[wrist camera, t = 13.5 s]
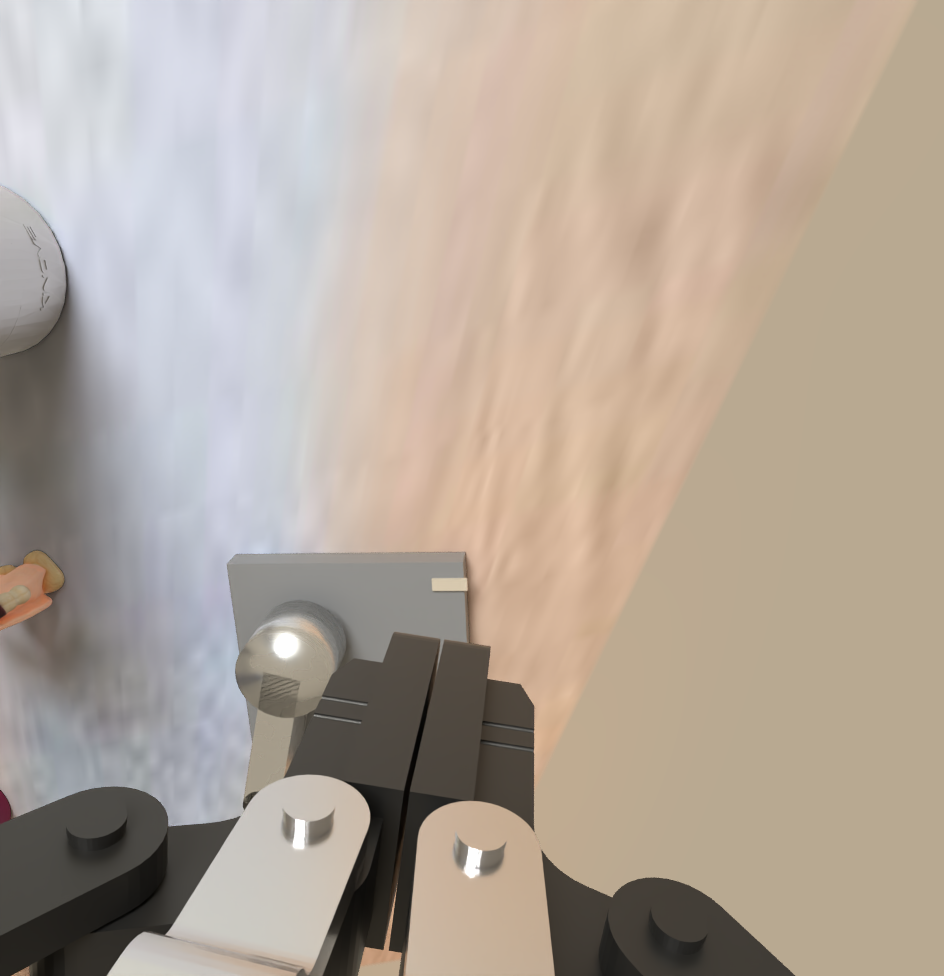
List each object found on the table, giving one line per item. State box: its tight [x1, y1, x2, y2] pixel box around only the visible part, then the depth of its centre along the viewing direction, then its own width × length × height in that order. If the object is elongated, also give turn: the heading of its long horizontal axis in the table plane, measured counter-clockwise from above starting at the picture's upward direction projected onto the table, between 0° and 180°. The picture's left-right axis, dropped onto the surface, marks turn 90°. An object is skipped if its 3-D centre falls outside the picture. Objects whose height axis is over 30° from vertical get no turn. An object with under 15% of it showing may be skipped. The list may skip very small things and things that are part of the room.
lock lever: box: [235, 600, 346, 810], centre depth 45 cm, size 12×5×4 cm, turn 168°
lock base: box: [227, 552, 470, 743], centre depth 48 cm, size 14×14×2 cm
